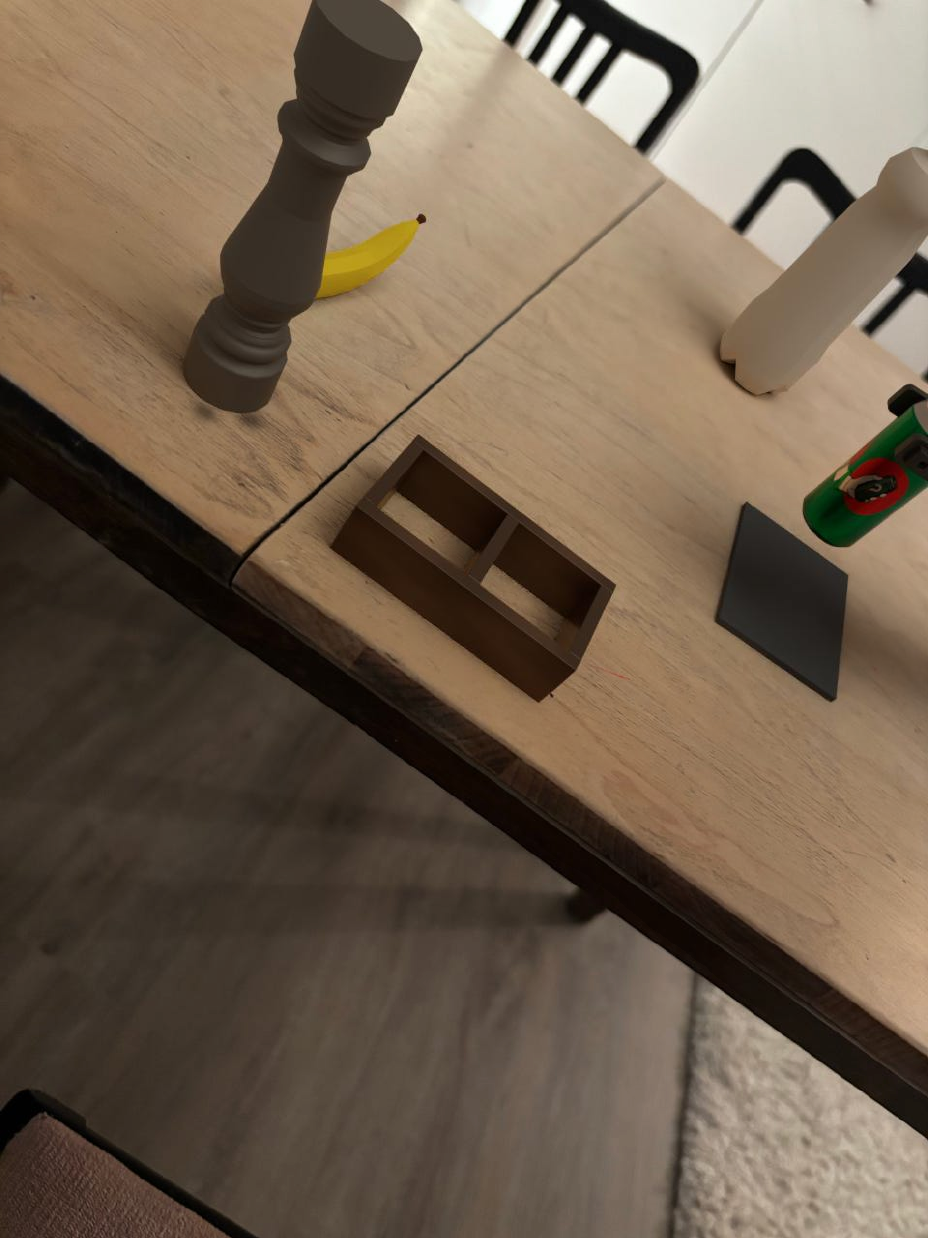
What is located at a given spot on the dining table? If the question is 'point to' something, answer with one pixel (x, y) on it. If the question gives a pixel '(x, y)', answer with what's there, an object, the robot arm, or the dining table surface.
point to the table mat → (785, 601)
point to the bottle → (831, 280)
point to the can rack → (477, 569)
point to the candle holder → (299, 197)
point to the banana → (366, 258)
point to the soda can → (867, 484)
